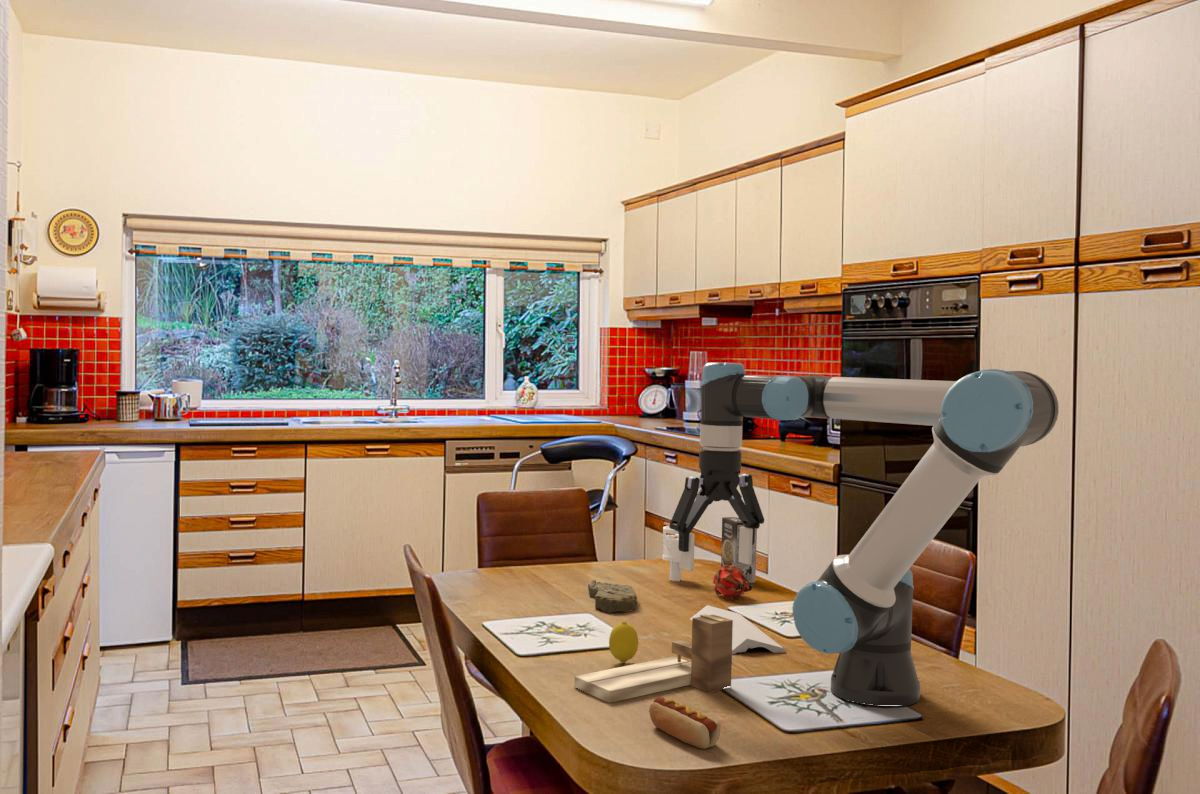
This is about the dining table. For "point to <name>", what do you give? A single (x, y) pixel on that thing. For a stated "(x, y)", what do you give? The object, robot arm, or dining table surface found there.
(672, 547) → the white stepped cylinder
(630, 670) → the board
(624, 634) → the lemon
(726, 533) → the coffee box
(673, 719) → the food
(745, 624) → the crown molding
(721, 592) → the dragon fruit
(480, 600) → the dining table surface
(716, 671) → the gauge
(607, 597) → the stone slab
